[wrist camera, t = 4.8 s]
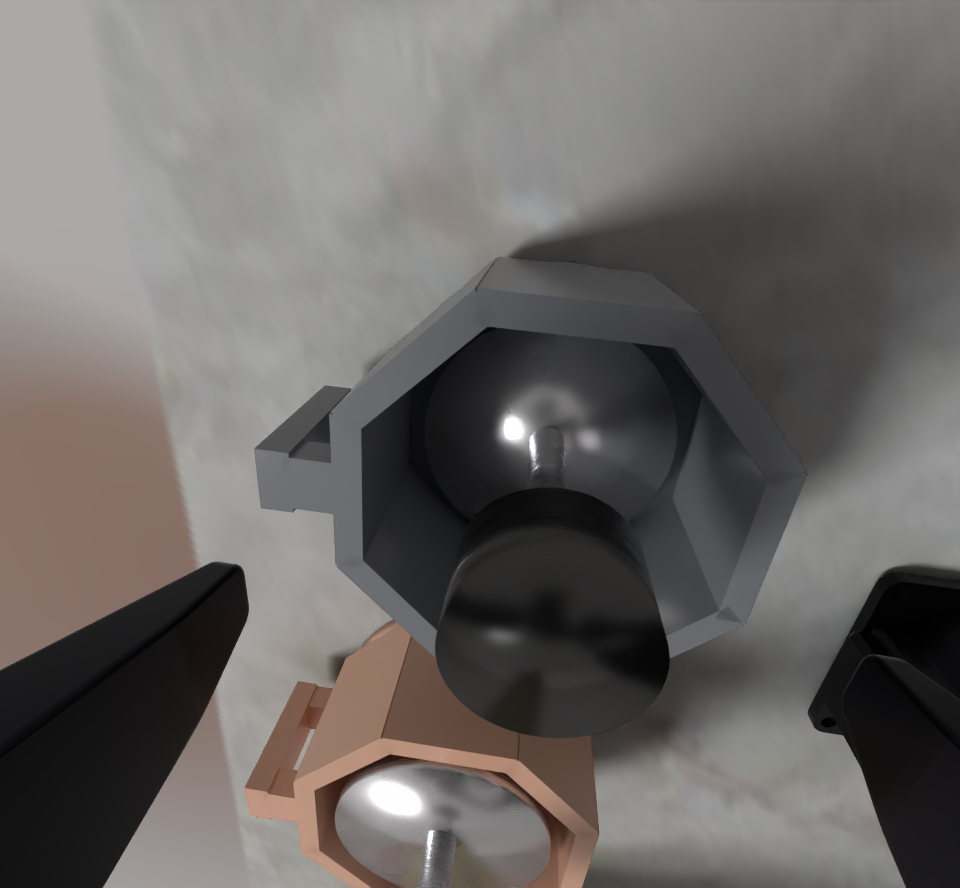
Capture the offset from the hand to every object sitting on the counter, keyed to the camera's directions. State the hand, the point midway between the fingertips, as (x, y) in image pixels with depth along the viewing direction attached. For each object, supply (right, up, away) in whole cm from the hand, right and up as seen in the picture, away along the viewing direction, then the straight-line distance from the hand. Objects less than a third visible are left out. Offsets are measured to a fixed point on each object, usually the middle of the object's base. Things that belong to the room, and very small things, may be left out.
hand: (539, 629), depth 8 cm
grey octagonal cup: (+1, +3, +7) cm, 8 cm away
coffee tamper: (+1, +3, +6) cm, 7 cm away
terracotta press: (-2, -7, +12) cm, 14 cm away
